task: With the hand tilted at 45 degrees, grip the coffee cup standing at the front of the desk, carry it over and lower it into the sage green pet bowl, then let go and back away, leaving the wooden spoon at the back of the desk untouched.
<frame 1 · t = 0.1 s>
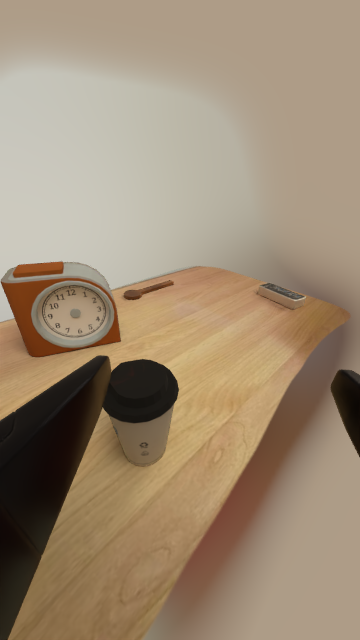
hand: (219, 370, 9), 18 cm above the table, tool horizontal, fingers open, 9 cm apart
coffee cup: (145, 445, 25), on the table
multiport hub: (279, 300, 59), on the table
wooden spoon: (147, 291, 61), on the table
alarm clock: (76, 338, 42), on the table
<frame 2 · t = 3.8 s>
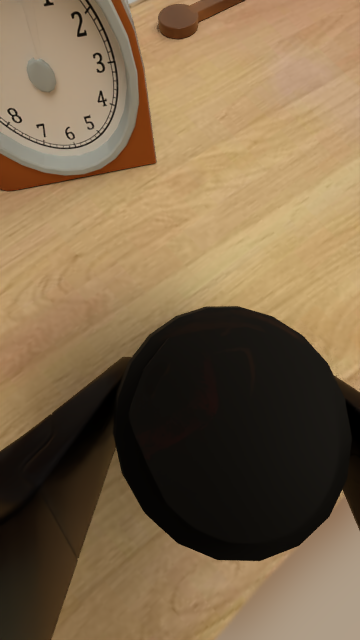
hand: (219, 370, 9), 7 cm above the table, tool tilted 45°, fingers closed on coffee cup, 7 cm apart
coffee cup: (204, 397, 15), on the table, touching gripper
wooden spoon: (210, 11, 26), on the table
alarm clock: (72, 148, 22), on the table
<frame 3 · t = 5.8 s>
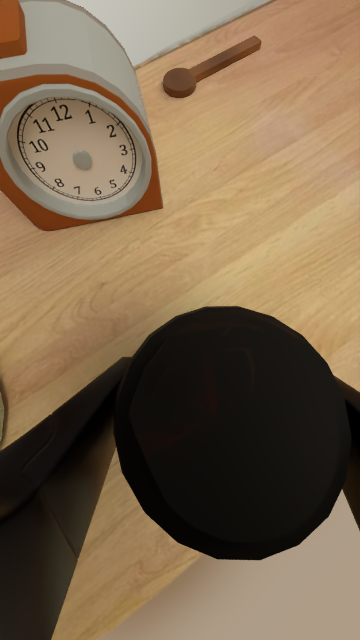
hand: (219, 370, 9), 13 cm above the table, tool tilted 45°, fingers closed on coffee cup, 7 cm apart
coffee cup: (204, 397, 15), point 6 cm above the table, touching gripper
wooden spoon: (206, 72, 32), on the table
alarm clock: (95, 195, 27), on the table
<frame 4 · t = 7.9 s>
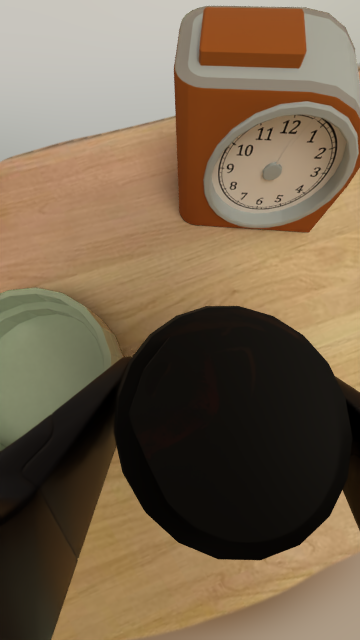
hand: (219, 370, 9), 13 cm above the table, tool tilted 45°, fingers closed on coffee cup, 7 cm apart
coffee cup: (205, 397, 15), point 6 cm above the table, touching gripper
sage green pet bowl: (47, 378, 22), on the table
alarm clock: (243, 201, 27), on the table
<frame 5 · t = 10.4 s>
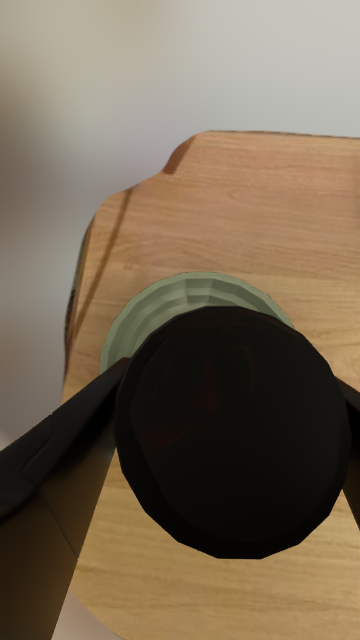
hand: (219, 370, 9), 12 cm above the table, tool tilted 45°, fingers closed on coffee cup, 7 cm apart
coffee cup: (204, 397, 15), point 5 cm above the table, touching gripper
sage green pet bowl: (198, 369, 21), on the table
when the fingers open (7 cm above the table, at t = 12.4 s): coffee cup stays where it is, resting on sage green pet bowl.
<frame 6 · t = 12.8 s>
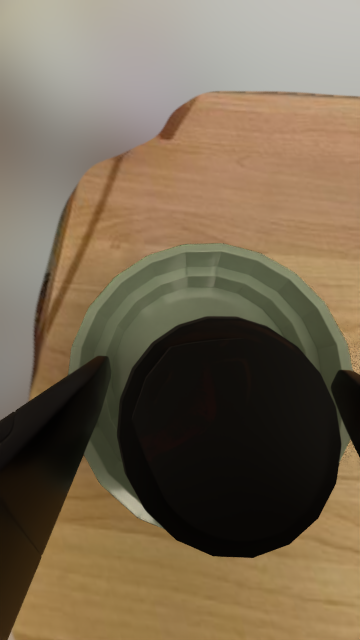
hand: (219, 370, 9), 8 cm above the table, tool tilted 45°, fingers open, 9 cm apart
coffee cup: (204, 400, 16), resting on sage green pet bowl
sage green pet bowl: (202, 371, 17), on the table
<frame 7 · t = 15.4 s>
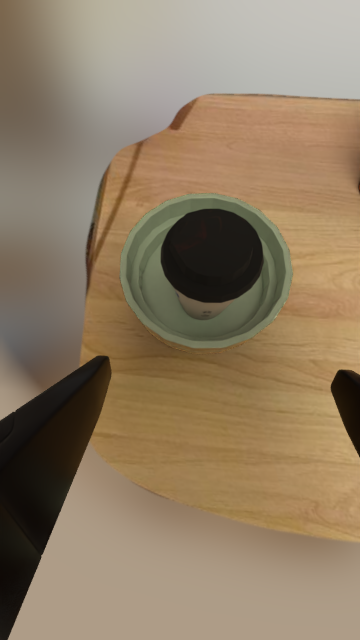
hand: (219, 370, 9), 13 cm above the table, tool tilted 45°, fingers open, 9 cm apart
coffee cup: (202, 299, 24), resting on sage green pet bowl
sage green pet bowl: (201, 283, 25), on the table
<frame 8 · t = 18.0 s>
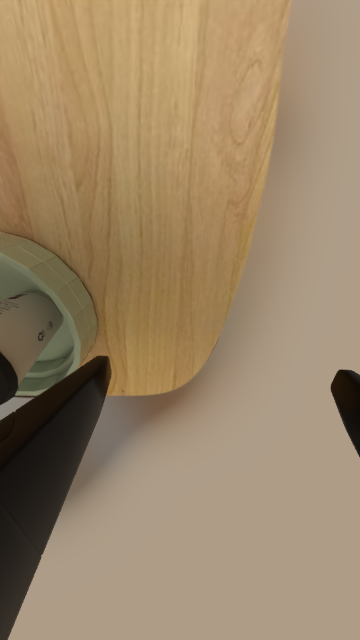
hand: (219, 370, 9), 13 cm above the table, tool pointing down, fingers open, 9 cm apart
coffee cup: (41, 310, 23), resting on sage green pet bowl
sage green pet bowl: (25, 309, 23), on the table
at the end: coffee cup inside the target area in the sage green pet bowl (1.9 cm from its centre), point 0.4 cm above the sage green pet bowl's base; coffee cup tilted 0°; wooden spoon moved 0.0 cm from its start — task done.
